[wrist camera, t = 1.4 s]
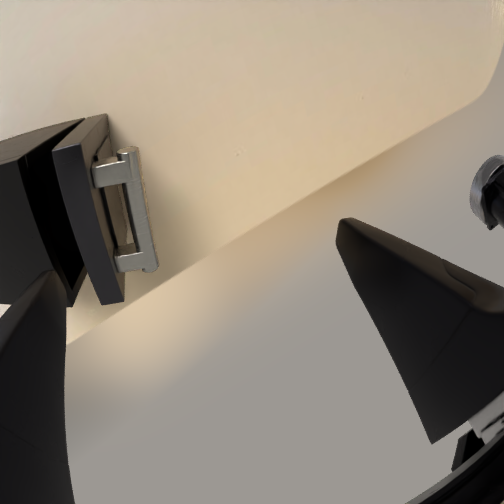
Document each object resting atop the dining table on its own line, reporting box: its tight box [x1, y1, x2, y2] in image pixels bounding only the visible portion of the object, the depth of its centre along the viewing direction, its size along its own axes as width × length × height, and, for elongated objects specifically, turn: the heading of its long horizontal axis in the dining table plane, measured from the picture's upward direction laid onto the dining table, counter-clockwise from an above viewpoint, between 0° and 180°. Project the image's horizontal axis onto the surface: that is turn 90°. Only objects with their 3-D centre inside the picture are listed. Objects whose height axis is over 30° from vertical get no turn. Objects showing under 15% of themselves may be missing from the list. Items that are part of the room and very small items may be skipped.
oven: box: [0, 118, 87, 307], centre depth 17 cm, size 10×10×9 cm
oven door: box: [52, 114, 159, 305], centre depth 18 cm, size 4×10×9 cm, turn 179°
